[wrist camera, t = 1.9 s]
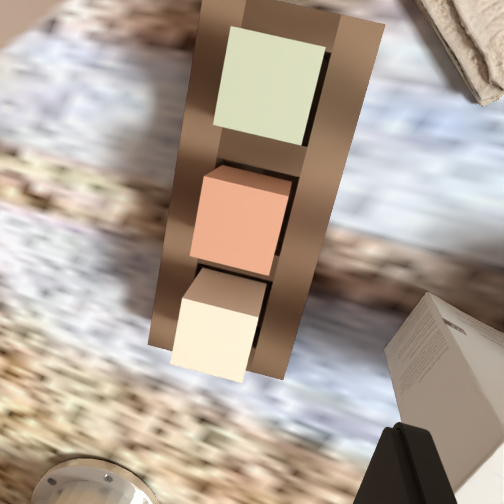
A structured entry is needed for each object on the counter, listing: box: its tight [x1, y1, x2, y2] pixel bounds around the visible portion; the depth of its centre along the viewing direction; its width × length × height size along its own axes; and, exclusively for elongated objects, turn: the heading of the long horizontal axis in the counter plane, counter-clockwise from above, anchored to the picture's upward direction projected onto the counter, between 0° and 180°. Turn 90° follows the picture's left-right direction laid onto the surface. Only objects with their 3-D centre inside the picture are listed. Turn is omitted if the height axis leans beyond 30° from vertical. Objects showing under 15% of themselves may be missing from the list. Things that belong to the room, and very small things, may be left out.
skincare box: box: [384, 292, 504, 504], centre depth 25 cm, size 8×6×15 cm
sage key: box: [213, 26, 326, 145], centre depth 22 cm, size 4×4×5 cm
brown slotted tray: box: [148, 0, 385, 380], centre depth 28 cm, size 23×10×3 cm, turn 168°
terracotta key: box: [190, 165, 292, 276], centre depth 25 cm, size 4×4×5 cm
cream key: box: [170, 268, 266, 383], centre depth 27 cm, size 4×4×5 cm
